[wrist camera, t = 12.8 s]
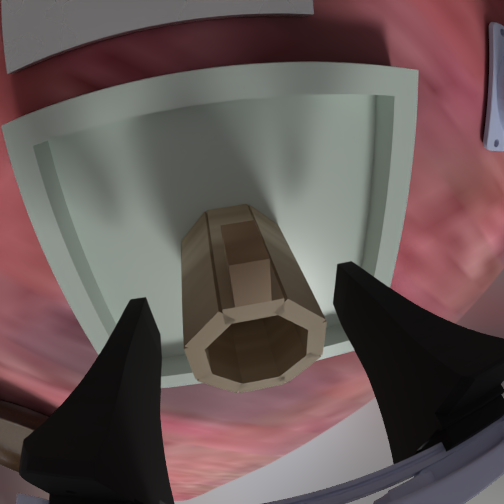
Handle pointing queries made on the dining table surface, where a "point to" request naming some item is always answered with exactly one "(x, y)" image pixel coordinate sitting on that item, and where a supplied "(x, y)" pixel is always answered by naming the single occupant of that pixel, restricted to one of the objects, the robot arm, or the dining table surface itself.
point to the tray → (216, 181)
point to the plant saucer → (16, 431)
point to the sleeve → (246, 303)
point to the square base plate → (112, 21)
